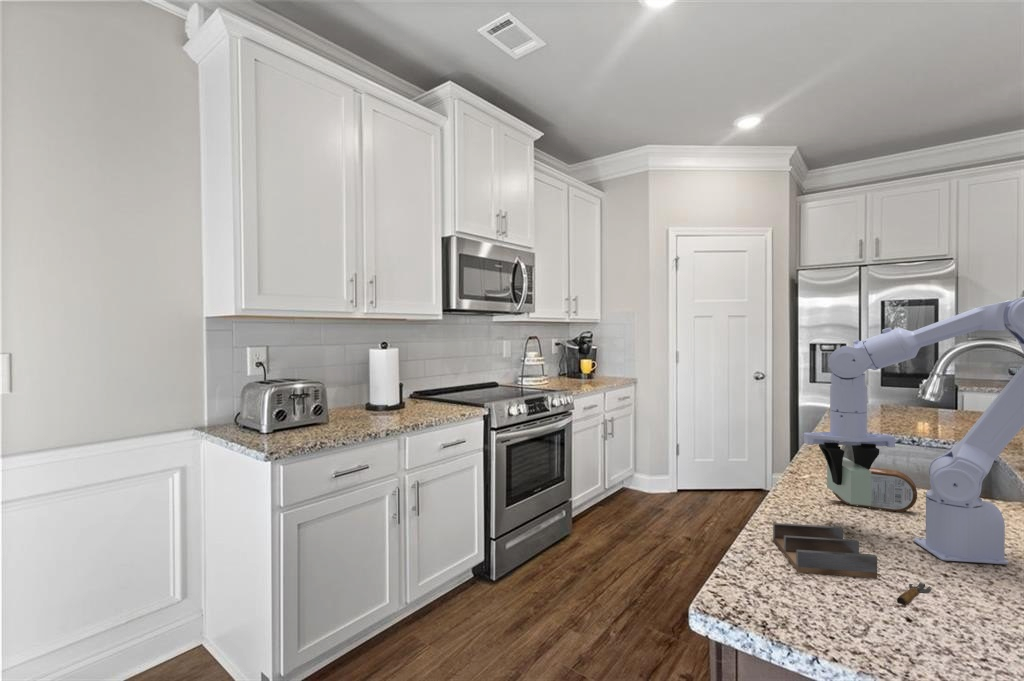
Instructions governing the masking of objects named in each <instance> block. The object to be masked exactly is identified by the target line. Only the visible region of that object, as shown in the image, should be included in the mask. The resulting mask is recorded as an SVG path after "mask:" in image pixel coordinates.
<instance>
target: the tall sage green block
mask: <svg viewBox="0 0 1024 681" xmlns="http://www.w3.org/2000/svg"><path fill="white" fill-rule="evenodd" d="M826 488H827V489H829V490H830V491H832V493H833V492H834V493H836V494H837V495H839V496H840V497H841V498H843V499H844V500H846V501H847V502H849V503H850V504H855V505H871V471H870V470H868V469H866V468H864V467H862V466H860V465H858V464H856V463H854V460H851V459H849V458H847V457H844V456H843V461H842V483H841V485H837V484H835V483H834V482H833V481H832V476H831V472H830V469H829V466H828V463H827V462H826ZM834 493H833V494H834Z"/></svg>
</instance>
